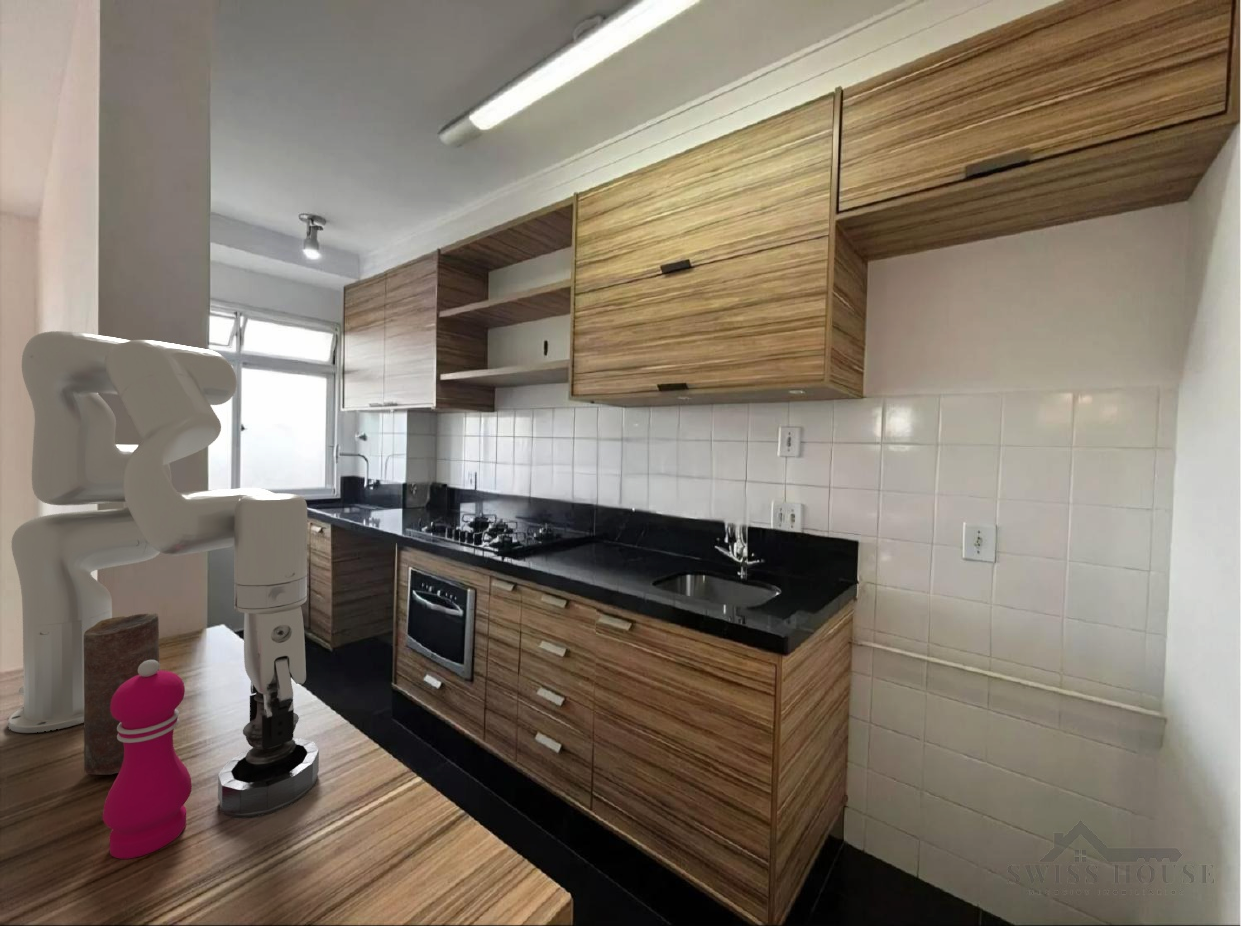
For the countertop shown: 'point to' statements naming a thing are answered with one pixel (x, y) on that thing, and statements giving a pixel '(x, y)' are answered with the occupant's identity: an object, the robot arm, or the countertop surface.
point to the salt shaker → (255, 736)
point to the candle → (112, 682)
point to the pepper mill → (147, 765)
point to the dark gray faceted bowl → (267, 781)
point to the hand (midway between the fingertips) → (271, 731)
